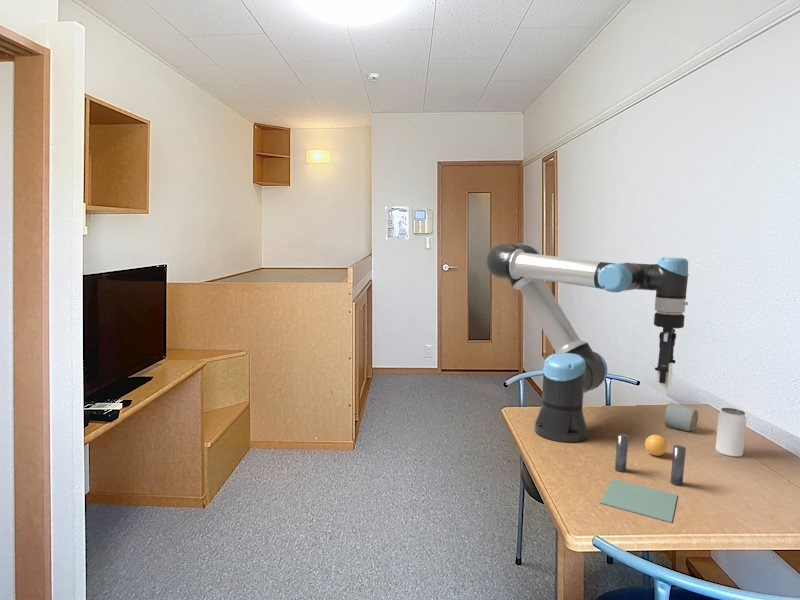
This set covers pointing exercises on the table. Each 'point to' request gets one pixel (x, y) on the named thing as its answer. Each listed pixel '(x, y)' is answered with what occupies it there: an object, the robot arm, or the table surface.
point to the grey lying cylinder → (681, 417)
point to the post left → (621, 452)
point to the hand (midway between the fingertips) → (663, 389)
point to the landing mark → (640, 500)
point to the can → (731, 432)
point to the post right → (678, 465)
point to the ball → (656, 445)
